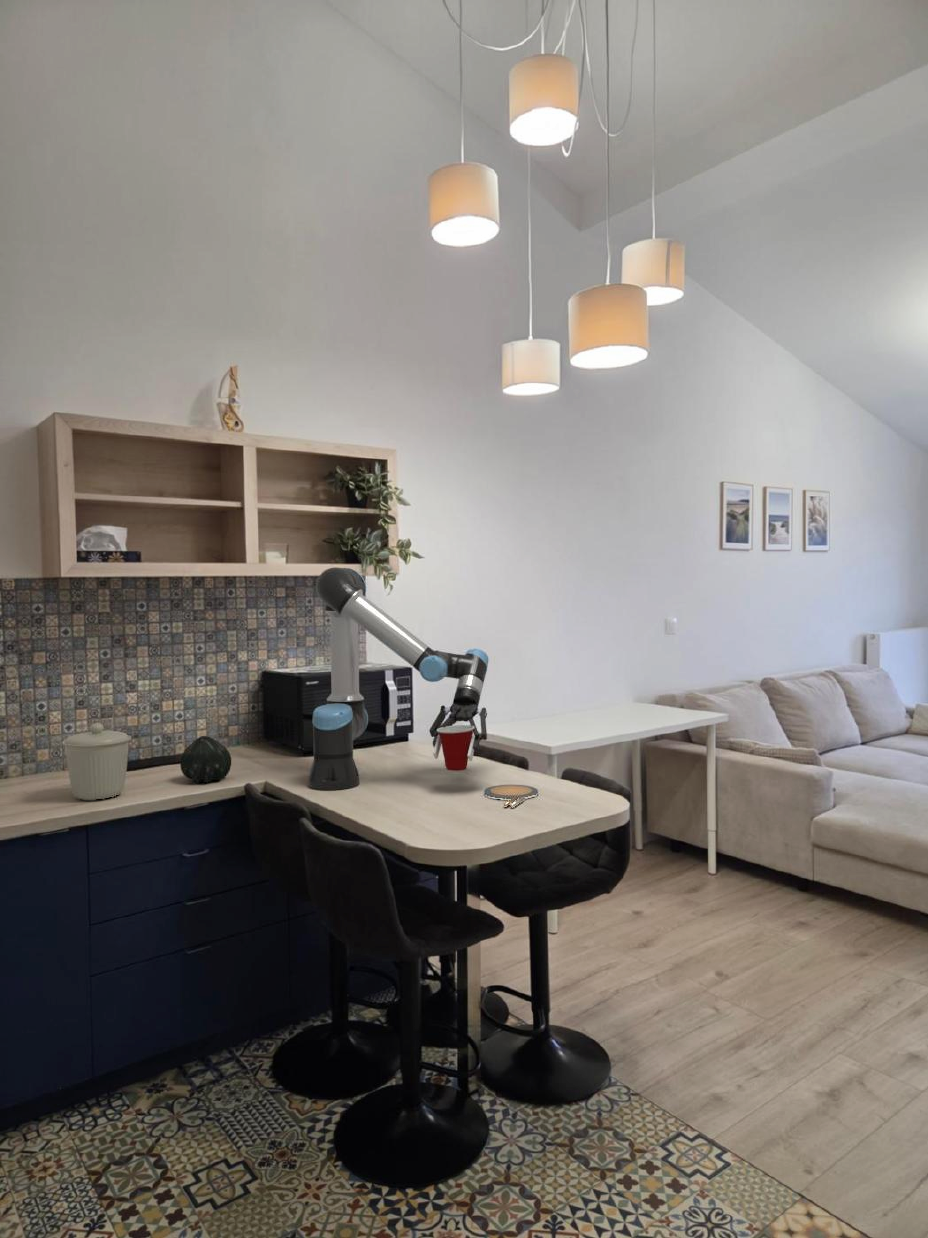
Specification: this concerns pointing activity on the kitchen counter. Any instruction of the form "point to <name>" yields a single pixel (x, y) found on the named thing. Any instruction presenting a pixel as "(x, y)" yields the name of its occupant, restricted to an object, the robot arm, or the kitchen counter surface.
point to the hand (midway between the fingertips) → (452, 757)
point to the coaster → (510, 791)
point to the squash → (205, 760)
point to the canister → (97, 762)
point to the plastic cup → (456, 745)
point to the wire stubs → (513, 801)
